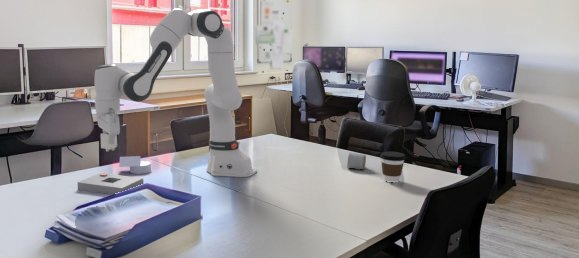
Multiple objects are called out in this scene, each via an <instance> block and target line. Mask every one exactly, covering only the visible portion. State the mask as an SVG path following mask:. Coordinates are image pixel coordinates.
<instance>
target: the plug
mask: <svg viewBox="0 0 579 258" xmlns="http://www.w3.org/2000/svg"><path fill="white" fill-rule="evenodd" d="M117 147H118V136H117V135H115V139H114V144H112V145H110V144H109V134H108V133H107V132H106V133H103V132H102V133H100V148H101V149H105V152H110V150H111V151H116V148H117Z"/></svg>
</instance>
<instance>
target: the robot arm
mask: <svg viewBox="0 0 579 258" xmlns="http://www.w3.org/2000/svg"><path fill="white" fill-rule="evenodd" d="M187 35H189V36H192V37H200V38H204V39H205V41H206V44H207V66H208V73H209V75H210V77H211V81H212V83H211V84H209V85H207V86H206V87H205V88H204V91H203V98H204V99H205V101H206V102H205V103H206V108H207V109H206V110H207V113H208V118H209V119H208V120H209V140H208V151H209V154H208V155H209V157H208V164H207V167H206V172H207V173H209V174H211V176H214V177H215V176H216V177H233V178H234V177H235V178H247V177H251V176H253V175H255V174H256V173H257V171H258V170H257V167H254V166H253V164H252V159H251V157H250V156H249V155H248V154H247V153H245V152H244V151H243V150H241V149H240V148H239V147H240V144H241V141H237V140H236V122H235V119H234V116H233V112H232V111H236V110H237V109H239V108H240V107H241V105H242V103H243V95H242V94H241V91H240V89H239V85H238V81H237V76H236V72H235V59H234V57H235V55H234V44H233V38H232V33H231V30H230V29H229V28H228V27H226V26H225V25H224V23H223V20H222V17H221V16H220V14H219V13H218V12H216V11H215V10H213V9H209V8H207V9H201V8H200V9H199V8H198V9H196V10H190V11H185V10H184V9H181V8H173V9H172V10H170V11H169V12H168V13H167V14H166V15H165V16H163V18H161V20H160V21H159V23H157V25H156V26H155V27H154V28H153V30H152V32H151V35H150V37H149V44H150V46H151V53H150V55H149V57H148V59H147V60H146V61H145V63H144V65H143V66H142V67H141V69H140V70H139V71H138V72H136V73H134V72H131V71H129V70H126V69H123V68H121V67H119V66H118V65H117V64H114V63H108V64H102V65H101V64H100V65H99V66H97V67H96V69H95V71H94V90H95V98H94V101H95V102H94V109H95V113H96V114H95V115H96V119H97V125H98V127H99V128H100V129H102V133H106V132H107V133H108V134H109V144H110V145H112V144H114V139H115V135H120V134H121V133H120V132H121V128H120V126H121V125H120V124H121V123H120V117H119V114H118V112H120V111H121V102H120V101H121V99H120V98H121V97H126V98H128V99H130V100H131V101H133V102H139V103H140V102H143V101H146V100H147V99H148V98H150V96H151V94H152V92H153V88H154V85H155V82H156V79H157V78H158V76H159V75H160V73H161V72H162V70H163V69H164V67H165V65H167V63H168V61H169V59H170V57H171V56H172V54H173V53H174V51H175V50H176V49H177V47H178V46H179V45H180V43H181V42H182V41H183V39H184V37H185V36H187Z"/></svg>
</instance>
